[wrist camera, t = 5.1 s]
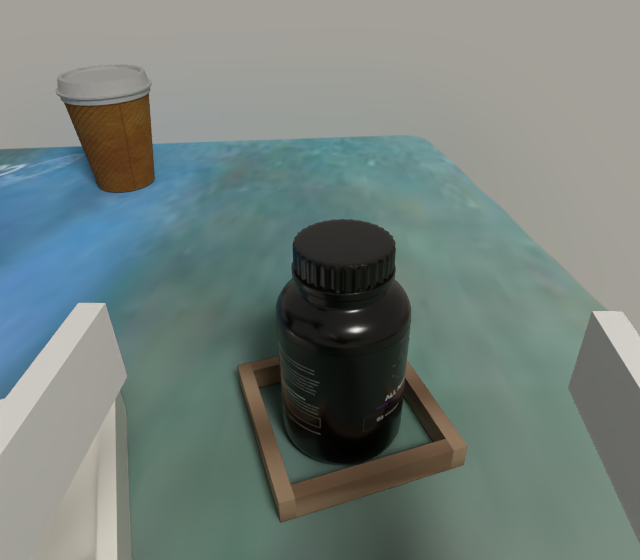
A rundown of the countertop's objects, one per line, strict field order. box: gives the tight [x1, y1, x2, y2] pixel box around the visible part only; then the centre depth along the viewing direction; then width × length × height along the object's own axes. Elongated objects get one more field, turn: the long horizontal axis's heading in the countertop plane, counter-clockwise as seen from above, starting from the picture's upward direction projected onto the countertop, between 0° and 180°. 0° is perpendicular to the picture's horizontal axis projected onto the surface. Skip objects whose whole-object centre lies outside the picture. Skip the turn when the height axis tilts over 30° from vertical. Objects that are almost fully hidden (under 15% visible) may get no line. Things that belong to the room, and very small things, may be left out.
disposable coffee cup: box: [56, 65, 155, 192], centre depth 58 cm, size 10×10×12 cm
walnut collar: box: [237, 356, 467, 522], centre depth 31 cm, size 10×10×2 cm
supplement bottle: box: [276, 219, 411, 465], centre depth 28 cm, size 7×7×12 cm
